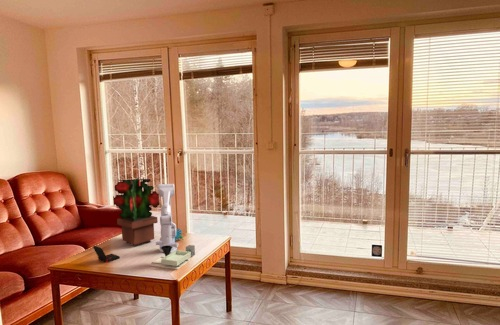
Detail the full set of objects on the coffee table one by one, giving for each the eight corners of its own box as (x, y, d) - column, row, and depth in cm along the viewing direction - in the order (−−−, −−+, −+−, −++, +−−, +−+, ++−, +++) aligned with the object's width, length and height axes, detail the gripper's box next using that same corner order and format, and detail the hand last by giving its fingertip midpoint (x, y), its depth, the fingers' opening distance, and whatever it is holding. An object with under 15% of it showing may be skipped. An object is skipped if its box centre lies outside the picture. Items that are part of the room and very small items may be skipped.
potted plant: (115, 243, 235) (112, 180, 231) (143, 235, 252) (140, 176, 248) (132, 250, 221) (128, 182, 217) (161, 241, 237) (158, 178, 233)
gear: (166, 238, 239) (173, 226, 244) (169, 242, 243) (177, 230, 248) (177, 242, 233) (185, 230, 238) (181, 246, 238) (188, 234, 243)
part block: (186, 256, 207) (185, 247, 206) (189, 254, 210) (189, 244, 210) (191, 257, 205) (191, 247, 205) (194, 254, 209) (194, 245, 208)
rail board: (149, 265, 193) (149, 263, 193) (163, 256, 206) (163, 255, 206) (177, 269, 187) (177, 267, 187) (190, 260, 200) (190, 258, 200)
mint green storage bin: (161, 265, 190) (161, 259, 189) (176, 256, 204) (176, 250, 204) (177, 268, 186) (176, 261, 186) (191, 258, 200) (190, 251, 200)
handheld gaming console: (120, 258, 206) (119, 242, 205) (101, 265, 196) (100, 248, 195) (111, 255, 211) (110, 240, 211) (93, 261, 202) (92, 245, 201)
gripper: (152, 236, 195) (153, 258, 196) (173, 238, 190) (174, 261, 191) (159, 232, 201) (160, 254, 202) (180, 234, 196) (181, 257, 197)
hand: (167, 257), depth 197 cm, fingers closed
